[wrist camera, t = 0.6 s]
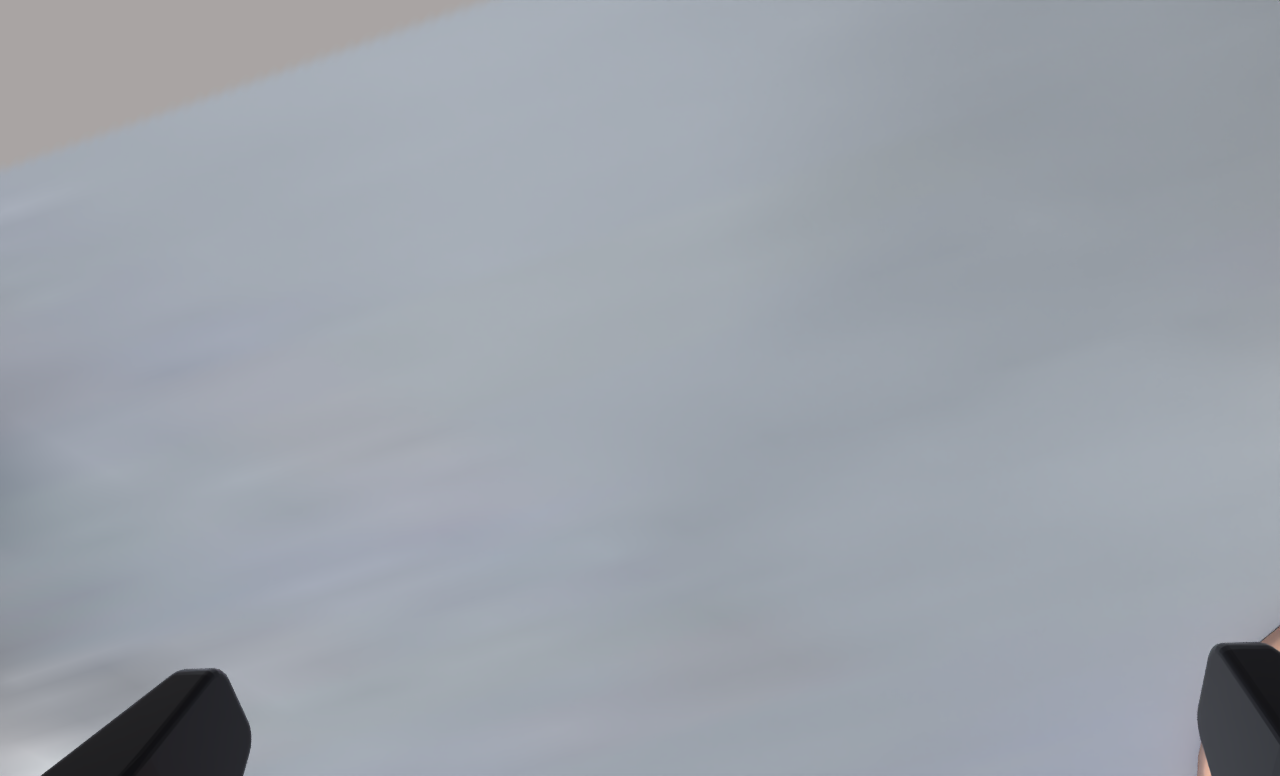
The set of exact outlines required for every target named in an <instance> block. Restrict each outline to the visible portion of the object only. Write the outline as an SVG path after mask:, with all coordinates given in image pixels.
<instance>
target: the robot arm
mask: <svg viewBox="0 0 1280 776" xmlns="http://www.w3.org/2000/svg"><path fill="white" fill-rule="evenodd" d="M1197 720H1198V729H1199V735H1200V739H1201V743H1202V746H1203V749H1204V753H1205V756H1206V759H1207V763H1208V766H1209V770H1210V773H1211V776H1280V651H1278V650H1277V649H1275V648H1274V647H1272V646H1270V645H1268V644H1266V643H1262V642H1240V643H1220V644H1217V645H1215V646H1214V647H1213V648H1212V649H1211V651H1210V653H1209V656H1208V661H1207V666H1206V671H1205V676H1204V680H1203V685H1202V690H1201V695H1200V700H1199V705H1198V712H1197ZM250 748H251V730H250V725H249V722H248V720H247V718H246V716H245V713H244V711H243V709H242V707H241V705H240V703H239V700H238V698H237V696H236V694H235V692H234V689H233V687H232V685H231V683H230V681H229V679H228V677H227V675H226V674H225V673H223V672H222V671H221V670H219V669H215V668H209V669H184V670H180V671H177V672H175V673H174V674H172V675H171V676H169V677H168V678H167V679H165V680H164V681H163V682H162V683H160V684H159V685H158V686H156V687H155V688H154V689H153V690H151V691H150V692H149V693H147V694H146V695H145V696H143V697H142V698H141V699H140V700H138V701H137V702H136V703H134V704H133V705H132V706H130V707H129V708H128V709H127V710H125V711H124V712H123V713H121V714H120V715H119V716H118V717H116V718H115V719H114V720H112V721H111V722H110V723H108V724H107V725H106V726H105V727H103V728H102V729H101V730H99V731H98V732H97V733H96V734H94V735H93V736H92V737H90V738H89V739H88V740H86V741H85V742H84V743H83V744H81V745H80V746H79V747H77V748H76V749H75V750H73V751H72V752H71V753H70V754H68V755H67V756H66V757H64V758H63V759H62V760H61V761H59V762H58V763H57V764H55V765H54V766H53V767H51V768H50V769H49V770H48V771H46V772H45V773H44V774H42V775H41V776H243V775H244V771H245V767H246V764H247V760H248V757H249V753H250Z"/></svg>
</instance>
